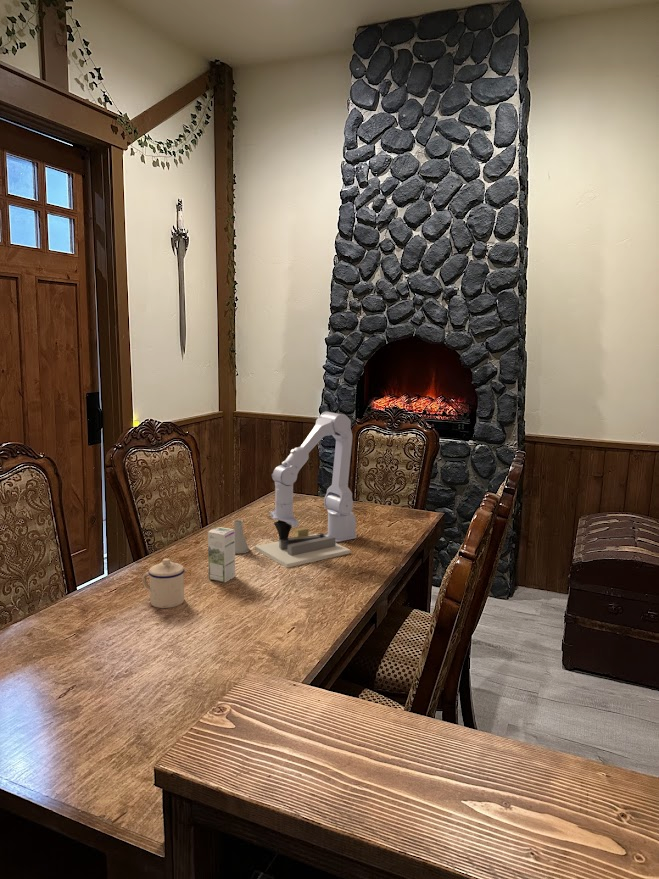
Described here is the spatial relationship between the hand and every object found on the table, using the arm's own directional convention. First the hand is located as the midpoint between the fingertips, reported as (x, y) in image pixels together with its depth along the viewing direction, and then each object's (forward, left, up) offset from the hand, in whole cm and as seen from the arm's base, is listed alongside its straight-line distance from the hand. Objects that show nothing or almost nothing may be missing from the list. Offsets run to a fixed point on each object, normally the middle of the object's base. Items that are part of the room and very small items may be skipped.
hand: (283, 542), depth 210 cm
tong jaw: (-5, +4, -1) cm, 6 cm away
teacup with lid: (+48, +18, -3) cm, 51 cm away
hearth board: (-4, +5, -2) cm, 7 cm away
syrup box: (+28, +12, -3) cm, 30 cm away
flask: (+13, -7, -3) cm, 15 cm away
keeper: (-7, -1, -1) cm, 7 cm away
